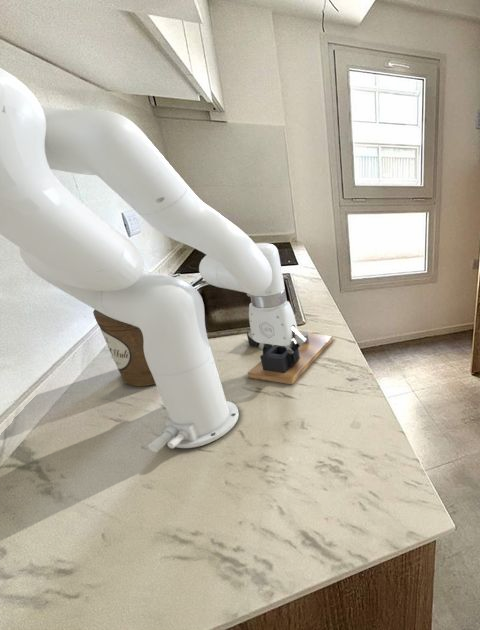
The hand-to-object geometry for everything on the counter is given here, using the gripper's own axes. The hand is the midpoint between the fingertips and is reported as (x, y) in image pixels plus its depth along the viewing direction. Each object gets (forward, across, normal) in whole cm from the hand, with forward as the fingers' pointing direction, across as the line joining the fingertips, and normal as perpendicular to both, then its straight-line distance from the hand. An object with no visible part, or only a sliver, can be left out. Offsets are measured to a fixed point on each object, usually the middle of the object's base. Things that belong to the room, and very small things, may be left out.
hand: (281, 362), depth 84 cm
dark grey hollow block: (+2, -13, +12) cm, 18 cm away
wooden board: (+2, 0, +6) cm, 6 cm away
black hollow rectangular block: (+1, 0, 0) cm, 1 cm away
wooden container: (+2, -30, -7) cm, 31 cm away
